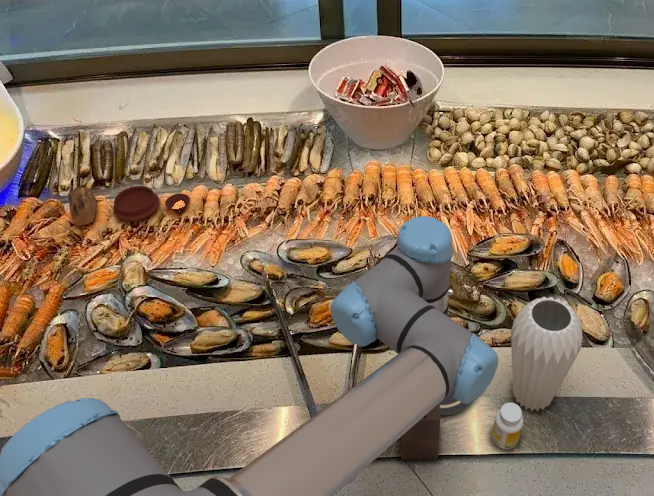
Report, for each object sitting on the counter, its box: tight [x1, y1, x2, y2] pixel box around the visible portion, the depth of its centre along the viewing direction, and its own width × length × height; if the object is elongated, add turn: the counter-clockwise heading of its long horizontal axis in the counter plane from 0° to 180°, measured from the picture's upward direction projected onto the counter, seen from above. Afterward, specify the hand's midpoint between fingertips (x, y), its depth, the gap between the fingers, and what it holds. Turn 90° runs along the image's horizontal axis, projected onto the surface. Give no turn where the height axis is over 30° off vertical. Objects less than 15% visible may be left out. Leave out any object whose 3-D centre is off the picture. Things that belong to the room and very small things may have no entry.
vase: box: [510, 296, 584, 412], centre depth 129 cm, size 13×13×26 cm
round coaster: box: [440, 395, 474, 417], centre depth 139 cm, size 16×16×1 cm
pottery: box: [112, 185, 191, 222], centre depth 176 cm, size 12×20×4 cm, turn 92°
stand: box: [400, 403, 442, 461], centre depth 124 cm, size 7×7×15 cm
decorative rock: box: [67, 186, 98, 227], centre depth 171 cm, size 12×6×11 cm, turn 18°
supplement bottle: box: [491, 402, 524, 450], centre depth 127 cm, size 5×5×10 cm
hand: (421, 380), depth 115 cm, fingers open, 13 cm apart
